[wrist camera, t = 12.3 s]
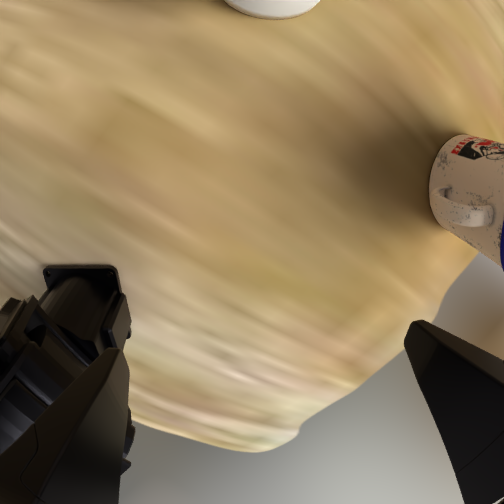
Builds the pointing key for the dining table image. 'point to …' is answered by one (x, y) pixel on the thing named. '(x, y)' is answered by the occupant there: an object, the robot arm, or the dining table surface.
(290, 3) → the spool
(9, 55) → the dining table surface
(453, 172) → the white printed mug
